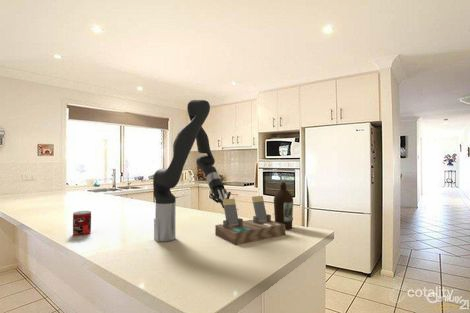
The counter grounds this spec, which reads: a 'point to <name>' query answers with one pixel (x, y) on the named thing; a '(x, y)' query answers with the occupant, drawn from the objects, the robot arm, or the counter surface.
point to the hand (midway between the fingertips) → (226, 208)
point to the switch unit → (249, 230)
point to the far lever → (259, 208)
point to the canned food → (81, 223)
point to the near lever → (231, 212)
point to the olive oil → (283, 206)
